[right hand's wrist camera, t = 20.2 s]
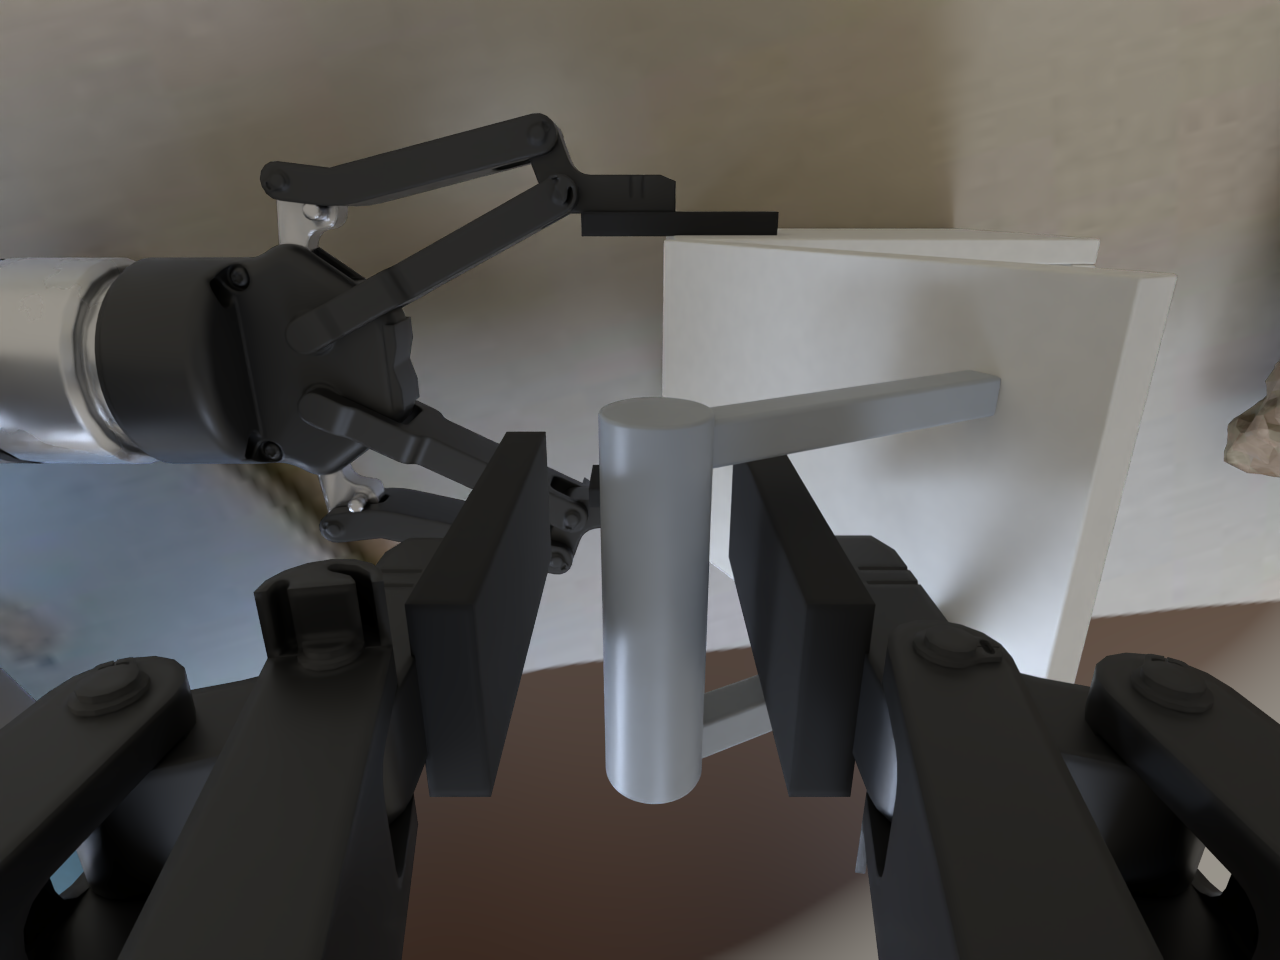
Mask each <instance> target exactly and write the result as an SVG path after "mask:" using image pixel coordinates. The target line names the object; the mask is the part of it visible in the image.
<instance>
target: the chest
mask: <svg viewBox="0 0 1280 960" xmlns="http://www.w3.org/2000/svg"><path fill="white" fill-rule="evenodd" d="M678 239H694V240H708V241H722V242H736V243H750V244H764V245H779V246H793V247H807V248H821V249H835V250H849V251H863V252H877V253H892V254H906V255H920V256H934V257H948V258H962V259H976V260H990V261H1005V262H1019V263H1033V264H1047V265H1061V266H1075V267H1089V268H1095V265H1094V264H1095V263H1096V259H1097V254H1098V249H1099V245H1100V239H1097V238H1083V237H1069V236H1055V235H1041V234H1026V233H1012V232H998V231H984V230H969V229H955V228H778V229H777V235H675V236H666V240H678Z"/></svg>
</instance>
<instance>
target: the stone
mask: <svg viewBox="0 0 1280 960" xmlns="http://www.w3.org/2000/svg"><path fill="white" fill-rule="evenodd" d="M1265 382H1266V385H1267V396H1266V397H1265V398H1264V399H1263V400H1261V401H1259V402H1258V403H1257V404H1255V405H1254V406H1253V407H1251V408H1250V409H1248V410H1247V411H1245V412H1244V413H1243V414H1241V415H1239V416H1238V417H1236V418H1234V419H1233V420H1232V421H1231V422H1230V423H1229V424H1228V429H1227V430H1228V439H1227V445H1226V448H1225V451H1224V461H1225V462H1227V463H1229V464H1231V465H1233V466H1235V467H1237V468H1239V469H1240V470H1242V471H1244V472H1246V473H1254V474H1263V475H1268V476H1273V477H1280V361H1279V362H1278V363H1276V364H1275V368H1274V370H1273V371H1272V373H1271V374H1270V375H1269V377H1268V378H1267V379H1266V381H1265Z"/></svg>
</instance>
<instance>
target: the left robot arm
mask: <svg viewBox="0 0 1280 960" xmlns="http://www.w3.org/2000/svg"><path fill="white" fill-rule="evenodd" d="M529 164H531V165H532V167H533V170H534V172H535V175H536V178H537V180H538V183H539V184H537V185H535V186H534V187H532V188H530V189H528V190H527V191H525V192H523V193H521V194H520V195H518V196H516V197H514V198H512V199H511V200H509V201H507V202H505V203H504V204H502V205H500V206H498V207H497V208H495V209H493V210H491V211H489V212H488V213H486V214H484V215H482V216H481V217H479V218H477V219H475V220H474V221H472V222H470V223H468V224H467V225H465V226H463V227H461V228H459V229H458V230H456V231H454V232H452V233H451V234H449V235H447V236H445V237H444V238H442V239H440V240H438V241H437V242H435V243H433V244H431V245H429V246H428V247H426V248H424V249H422V250H421V251H419V252H417V253H415V254H414V255H412V256H410V257H408V258H407V259H405V260H403V261H401V262H399V263H398V264H396V265H394V266H392V267H390V268H388V269H385V270H383V271H381V272H379V273H377V274H376V275H374V276H372V277H370V278H368V279H365V278H364V277H362V276H361V275H359V274H358V273H356V272H355V271H354V270H352V269H351V268H349V267H348V266H346V265H345V264H343V263H342V262H340V261H339V260H337V259H336V258H334V257H333V256H332V255H330V254H329V253H327V252H326V251H324V250H323V249H321V248H320V247H318V244H319V239H320V236H321V235H322V234H323V233H324V232H325V231H327V230H329V229H335V228H339V227H341V226H342V225H343V224H344V223H345V222H346V220H347V216H348V206H367V205H374V204H379V203H384V202H387V201H391V200H395V199H399V198H403V197H407V196H410V195H414V194H418V193H422V192H426V191H430V190H433V189H437V188H441V187H445V186H449V185H453V184H456V183H460V182H464V181H468V180H472V179H475V178H479V177H483V176H487V175H491V174H495V173H498V172H502V171H506V170H510V169H514V168H518V167H521V166H525V165H529ZM260 181H261V185H262V188H263V189H264V191H265V192H266V194H268V195H269V196H270V197H271V198H273V199H276V200H277V216H278V234H279V245H277V246H275V247H273V248H271V249H270V250H268V251H267V252H265V253H264V254H262V255H259V256H257V257H214V258H146V259H141V260H139V261H134V260H131V259H128V258H8V259H0V463H92V464H151V463H153V462H156V461H162V462H165V463H173V464H258V463H278V462H279V463H287V464H291V465H295V466H297V467H300V468H302V469H304V470H306V471H308V472H310V473H313V474H317V475H318V478H319V482H320V485H321V488H322V492H323V495H324V499H325V502H326V506H327V509H328V514H327V515H326V516H325V517H324V518H323V519H322V520H321V522H320V524H319V527H320V532H321V533H322V535H323V536H324V537H325V538H326V539H327V540H329V541H331V542H338V543H340V542H349V541H358V540H368V539H377V538H383V539H388V540H393V541H397V542H403V541H405V540H406V539H408V538H444V537H445V535H446V533H447V532H448V530H449V528H450V527H451V525H452V523H453V522H454V520H455V518H456V517H457V515H458V513H459V511H460V510H461V508H462V506H463V505H464V503H465V501H463V500H459V499H454V498H449V497H445V496H440V495H435V494H431V493H426V492H421V491H417V490H411V489H405V488H384V487H383V483H382V481H381V480H380V479H377V478H371V477H364V476H361V475H359V474H358V473H356V472H355V471H354V469H353V468H352V466H351V462H353V461H354V460H355V459H357V458H358V457H359V456H361V455H362V454H363V453H365V452H366V451H367V450H368V449H372V450H374V451H376V452H378V453H380V454H383V455H385V456H387V457H389V458H391V459H394V460H396V461H398V462H401V463H405V464H418V465H421V466H423V467H425V468H427V469H429V470H432V471H434V472H436V473H438V474H440V475H443V476H445V477H447V478H449V479H451V480H454V481H456V482H458V483H460V484H462V485H465V486H467V487H469V488H471V489H473V488H474V486H475V485H476V483H477V481H478V479H479V478H480V476H481V474H482V473H483V471H484V469H485V468H486V466H487V464H488V463H489V461H490V459H491V458H492V456H493V454H494V452H495V451H496V449H497V447H498V446H499V444H498V443H496V442H494V441H492V440H489V439H487V438H485V437H483V436H481V435H479V434H477V433H474V432H472V431H470V430H468V429H466V428H464V427H462V426H460V425H457V424H455V423H453V422H451V421H449V420H447V419H445V418H444V417H443V415H442V414H441V413H440V412H439V411H437V410H435V409H434V408H431V407H429V406H427V405H425V404H423V403H421V402H419V401H417V400H416V399H417V398H419V388H418V379H417V375H416V373H415V370H414V368H413V365H412V362H411V360H410V352H411V346H412V339H413V334H412V325H411V317H406V316H405V314H404V312H403V310H402V307H404V306H406V305H408V304H410V303H411V302H413V301H415V300H417V299H419V298H420V297H422V296H424V295H426V294H427V293H429V292H431V291H432V290H434V289H436V288H437V287H439V286H441V285H443V284H445V283H446V282H448V281H450V280H452V279H454V278H456V277H457V276H459V275H461V274H463V273H465V272H466V271H468V270H470V269H472V268H474V267H475V266H477V265H479V264H481V263H483V262H484V261H486V260H488V259H490V258H492V257H493V256H495V255H497V254H499V253H501V252H502V251H504V250H506V249H508V248H510V247H511V246H513V245H515V244H517V243H519V242H520V241H522V240H524V239H526V238H528V237H530V236H531V235H533V234H535V233H537V232H539V231H540V230H542V229H544V228H546V227H548V226H549V225H551V224H553V223H555V222H557V221H558V220H560V219H562V218H564V217H566V216H567V215H569V214H571V213H581V227H582V236H675V235H777V229H778V213H779V212H675V188H676V181H674V180H671V179H669V178H667V177H665V176H662V175H588V174H583V173H581V172H580V171H578V170H577V169H576V167H575V166H574V165H573V163H572V161H571V158H570V155H569V152H568V150H567V147H566V144H565V141H564V138H563V134H562V132H561V130H560V129H559V127H558V126H557V125H556V124H555V123H554V122H553V121H552V120H551V119H549V118H548V117H547V116H545V115H543V114H541V113H534V114H529V115H525V116H522V117H518V118H514V119H510V120H507V121H503V122H499V123H495V124H492V125H488V126H484V127H480V128H477V129H473V130H469V131H465V132H462V133H458V134H454V135H450V136H447V137H443V138H439V139H435V140H432V141H428V142H424V143H421V144H417V145H413V146H409V147H406V148H402V149H398V150H394V151H391V152H387V153H383V154H379V155H376V156H372V157H368V158H364V159H361V160H357V161H353V162H349V163H346V164H342V165H338V166H334V167H331V168H328V167H320V166H312V165H304V164H296V163H288V162H280V161H274V162H269V163H268V164H266V165H265V166H264V167H263V169H262V170H261V175H260ZM547 473H548V494H549V515H550V536H551V556H552V557H551V561H550V565H549V569H548V573H551V574H563V573H566V572H567V571H568V570H569V569H570V567H571V565H572V562H573V558H574V555H575V552H576V550H577V547H578V544H579V541H580V539H581V537H582V536H583V535H584V534H585V533H586V532H587V531H589V530H591V529H595V528H601V515H600V469H599V465H593V468H592V473H591V479H590V481H589V480H588V479H586V478H584V480H583V483H581V482H579V481H577V480H575V479H572V478H570V477H568V476H566V475H564V474H562V473H560V472H558V471H555V470H553V469H551V468H549V467H547ZM35 702H36V701H35V700H34V699H33V698H32V697H31V696H30V695H29V694H28V693H27V692H26V691H25V690H24V689H23V688H22V687H21V686H20V685H19V684H18V683H17V682H16V681H15V680H13V679H12V678H11V677H10V676H9V675H8V674H7V673H6V672H5V671H4V670H3V669H2V668H1V667H0V729H1V728H3V727H4V726H5V725H6V724H8V723H9V722H10V721H12V720H13V719H14V718H16V717H17V716H18V715H19V714H21V713H22V712H23V711H25V710H26V709H27V708H29V707H30V706H31V705H32V704H34V703H35ZM83 872H84V871H83V868H82V865H81V862H80V860H79V857H78V854H77V851H75V852H74V853H73V854H72V855H71V856H70V857H69V858H68V859H67V860H66V861H65V862H64V864H63V865H62V866H61V867H60V868H59V869H58V870H57V871H56V872H55V873H54V874H53V875H52V876H51V877H50V879H51V882H52V884H53V887H54V889H55V891H56V892H57V893H58V894H59V895H60V894H61V893H62V892H63V891H65V890H66V889H67V888H68V887H70V886H71V885H72V884H73V883H74V882H75V881H76V879H77V878H78V877H79V876H80V875H81V874H82V873H83Z"/></svg>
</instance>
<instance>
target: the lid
mask: <svg viewBox="0 0 1280 960" xmlns="http://www.w3.org/2000/svg"><path fill="white" fill-rule="evenodd" d="M1176 281H1177V275H1176V274H1174V273H1160V272H1146V271H1132V270H1118V269H1103V268H1089V267H1075V266H1061V265H1047V264H1033V263H1019V262H1005V261H990V260H976V259H962V258H948V257H934V256H920V255H906V254H892V253H877V252H863V251H849V250H835V249H821V248H807V247H793V246H779V245H764V244H750V243H736V242H722V241H708V240H694V239H678V240H664V266H663V360H662V397H642V398H632V399H626V400H621V401H617V402H614V403H611V404H608V405H606V406H604V407H603V408H602V409H601V410H600V412H599V415H598V422H599V469H600V515H601V562H602V609H603V655H604V701H605V748H606V772H607V776H608V778H609V780H610V782H611V784H612V785H613V786H614V788H615V789H616V790H617V791H618V792H620V793H621V794H622V795H624V796H626V797H627V798H629V799H632V800H634V801H638V802H642V803H649V804H661V803H667V802H671V801H674V800H677V799H679V798H681V797H683V796H685V795H686V794H688V793H689V792H690V791H691V790H692V789H693V788H694V787H695V785H696V784H697V782H698V780H699V778H700V775H701V768H702V758H704V757H707V756H709V755H712V754H714V753H717V752H719V751H722V750H724V749H727V748H729V747H732V746H734V745H737V744H739V743H742V742H745V741H747V740H750V739H752V738H755V737H757V736H760V735H762V734H765V733H767V732H770V731H772V727H771V723H770V719H769V715H768V711H767V707H766V703H765V699H764V695H763V691H762V687H761V683H760V679H759V676H758V675H756V676H753V677H750V678H747V679H744V680H742V681H739V682H736V683H733V684H730V685H727V686H724V687H722V688H719V689H716V690H713V691H710V692H707V693H704V688H705V661H706V635H707V608H708V581H709V562H710V563H712V564H713V565H714V566H716V567H717V568H718V569H720V570H721V571H722V572H724V573H725V574H726V575H728V576H729V577H730V578H732V579H733V580H734V577H733V573H732V569H731V565H730V561H729V557H728V556H729V536H730V515H731V494H732V474H733V465H734V464H740V463H745V462H750V461H756V460H761V459H766V458H772V457H777V456H782V455H787V456H788V458H789V459H790V461H791V463H792V464H793V466H794V468H795V469H796V471H797V473H798V474H799V476H800V478H801V479H802V481H803V483H804V485H805V486H806V488H807V490H808V491H809V493H810V495H811V496H812V498H813V500H814V501H815V503H816V505H817V506H818V508H819V510H820V511H821V513H822V515H823V517H824V518H825V520H826V522H827V523H828V525H829V527H830V528H831V530H832V532H833V533H834V535H871V536H873V537H875V538H876V539H878V540H880V541H881V542H883V543H884V544H886V545H888V546H889V547H891V548H893V549H894V550H895V551H896V552H897V553H898V555H899V556H900V557H901V559H902V560H903V561H904V563H905V564H906V565H907V569H908V570H910V571H911V572H912V573H913V575H914V576H915V578H916V579H917V580H918V584H921V586H922V587H923V588H924V590H925V591H926V592H927V594H928V595H929V596H930V598H931V599H932V600H933V602H934V603H935V604H936V606H937V607H938V608H939V610H940V611H941V612H942V614H943V615H944V616H945V618H946V619H947V621H948V622H951V623H957V624H961V625H964V626H967V627H969V628H972V629H975V630H977V631H980V632H983V633H984V634H986V635H988V636H989V637H991V638H992V639H994V640H995V641H997V642H999V643H1000V644H1002V646H1003V647H1004V648H1005V649H1006V650H1007V652H1008V653H1009V654H1010V655H1011V656H1012V658H1013V660H1014V662H1015V664H1016V666H1017V668H1018V670H1019V672H1020V673H1023V674H1027V675H1032V676H1036V677H1040V678H1045V679H1051V680H1056V681H1061V682H1067V683H1072V684H1074V682H1075V678H1076V674H1077V670H1078V666H1079V662H1080V658H1081V654H1082V650H1083V646H1084V643H1085V639H1086V635H1087V631H1088V627H1089V623H1090V619H1091V615H1092V611H1093V607H1094V603H1095V599H1096V595H1097V591H1098V588H1099V584H1100V580H1101V576H1102V572H1103V568H1104V564H1105V560H1106V556H1107V552H1108V548H1109V544H1110V540H1111V536H1112V532H1113V529H1114V525H1115V521H1116V517H1117V513H1118V509H1119V505H1120V501H1121V497H1122V493H1123V489H1124V485H1125V481H1126V477H1127V473H1128V470H1129V466H1130V462H1131V458H1132V454H1133V450H1134V446H1135V442H1136V438H1137V434H1138V430H1139V426H1140V422H1141V418H1142V414H1143V411H1144V407H1145V403H1146V399H1147V395H1148V391H1149V387H1150V383H1151V379H1152V375H1153V371H1154V367H1155V363H1156V359H1157V355H1158V352H1159V348H1160V344H1161V340H1162V336H1163V332H1164V328H1165V324H1166V320H1167V316H1168V312H1169V308H1170V304H1171V300H1172V296H1173V293H1174V289H1175V285H1176Z"/></svg>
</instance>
